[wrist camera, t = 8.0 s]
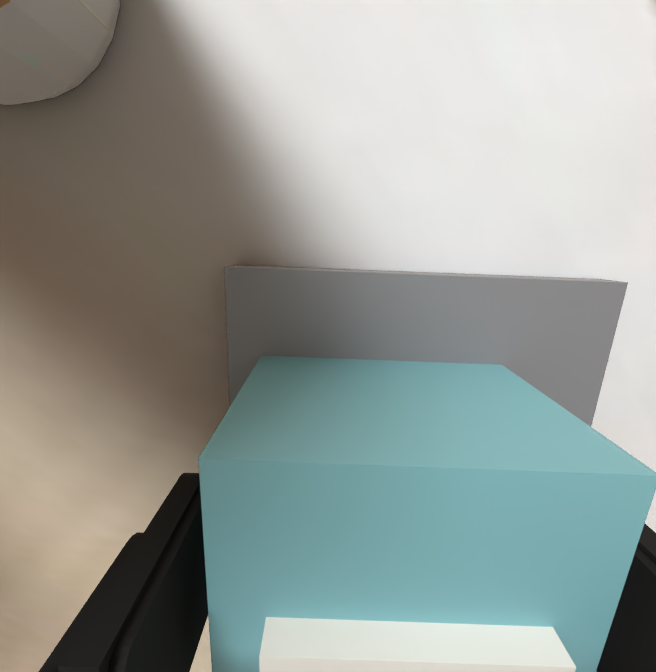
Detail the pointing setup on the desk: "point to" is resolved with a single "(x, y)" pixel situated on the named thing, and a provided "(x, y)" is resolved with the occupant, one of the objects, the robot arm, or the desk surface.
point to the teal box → (412, 522)
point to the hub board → (428, 323)
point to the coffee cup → (51, 45)
